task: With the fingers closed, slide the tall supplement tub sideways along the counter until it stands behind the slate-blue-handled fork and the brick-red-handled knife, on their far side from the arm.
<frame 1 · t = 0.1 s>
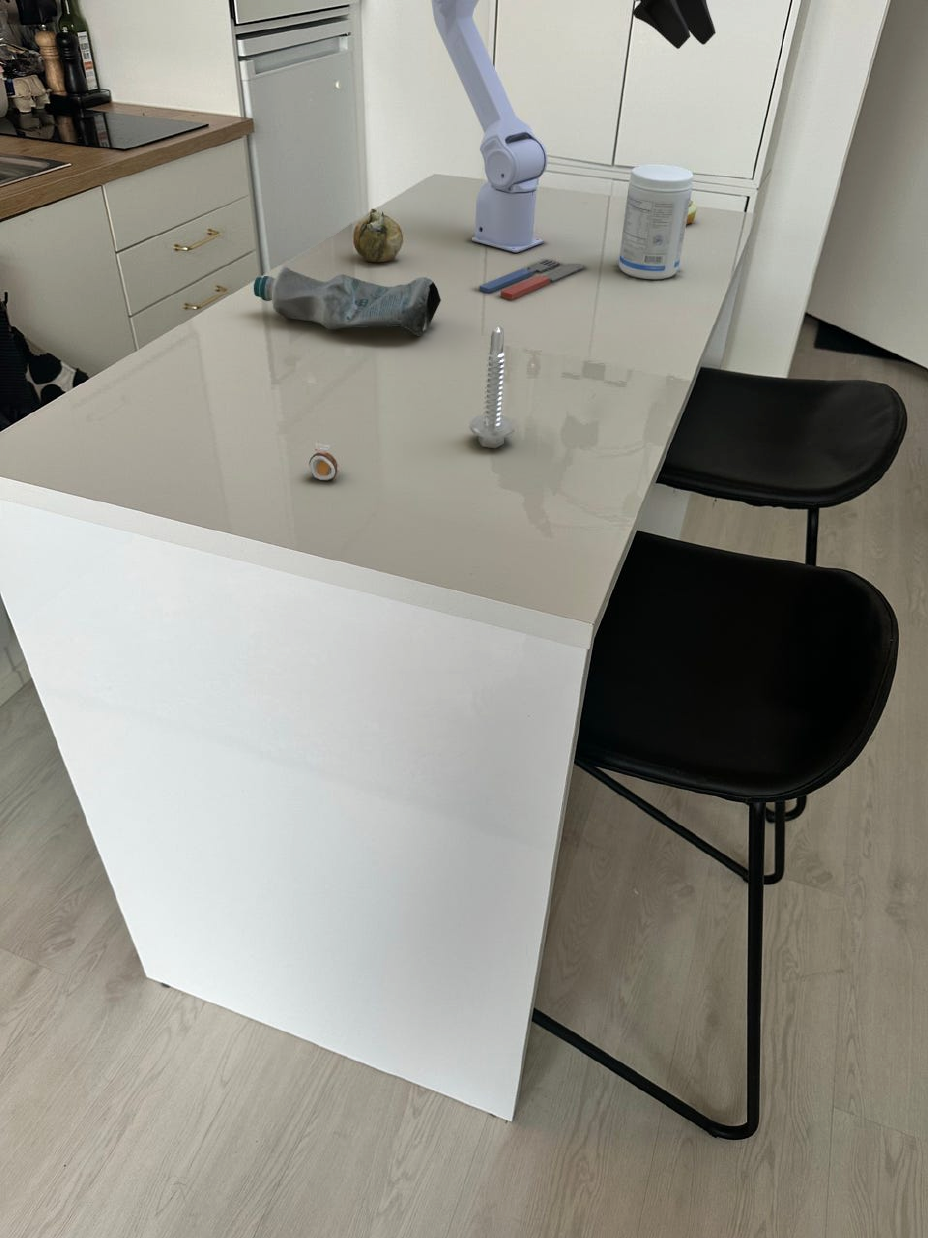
hand: (696, 40, 123), 32 cm above the countertop, tool tilted 50°, fingers open, 7 cm apart
supplement tub: (647, 272, 147), on the countertop
knife: (540, 283, 140), on the countertop
decorated donut: (664, 221, 170), on the countertop
screw: (490, 444, 100), on the countertop
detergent: (346, 325, 125), on the countertop
chocolate: (326, 478, 93), on the countertop
fork: (519, 277, 142), on the countertop
onion: (378, 260, 147), on the countertop
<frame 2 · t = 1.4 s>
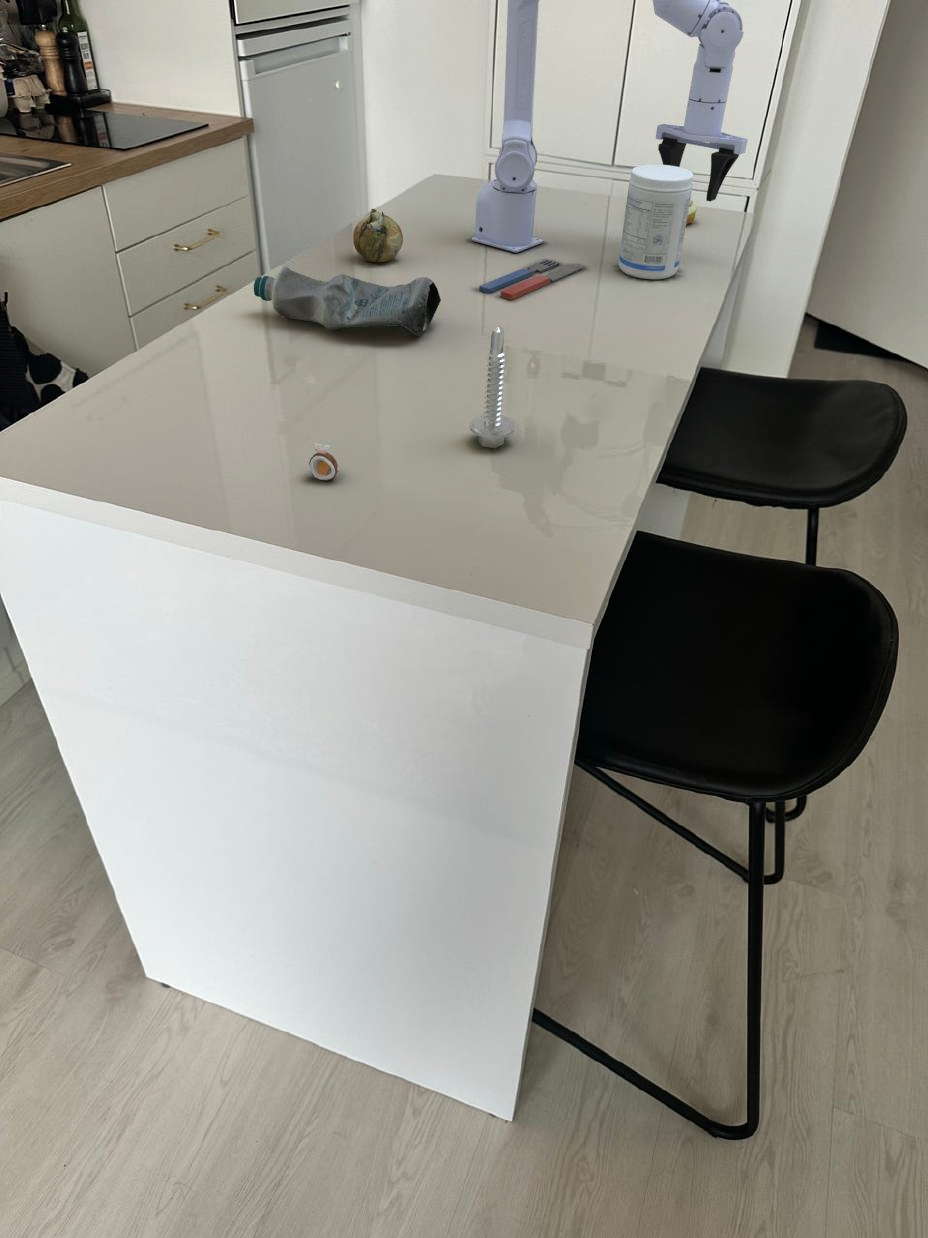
hand: (690, 195, 148), 9 cm above the countertop, tool pointing down, fingers open, 7 cm apart
nothing on the countertop moved.
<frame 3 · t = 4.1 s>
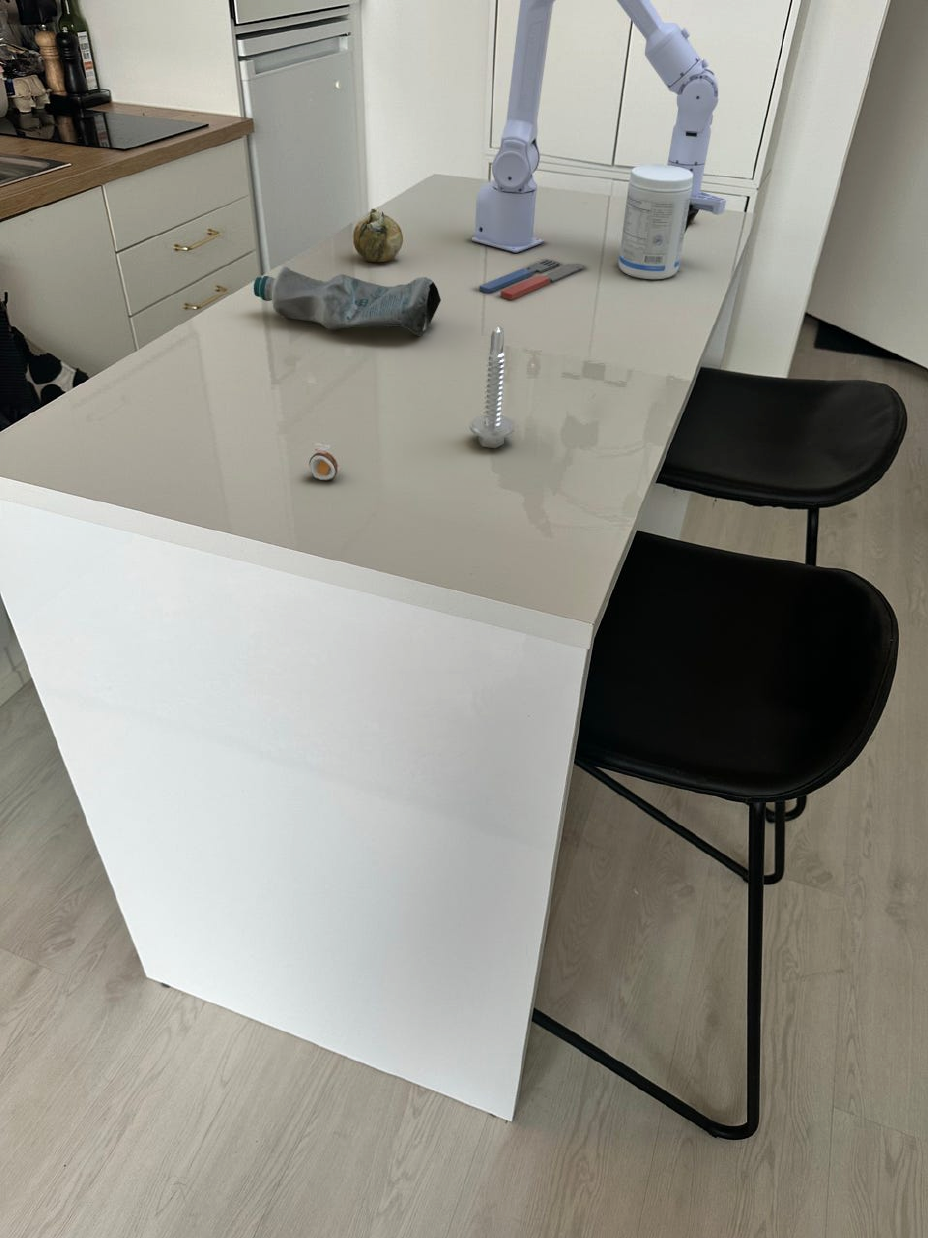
hand: (671, 251, 151), 1 cm above the countertop, tool pointing down, fingers closed, pressing on supplement tub
supplement tub: (647, 272, 147), on the countertop, touching gripper
everything else where it was.
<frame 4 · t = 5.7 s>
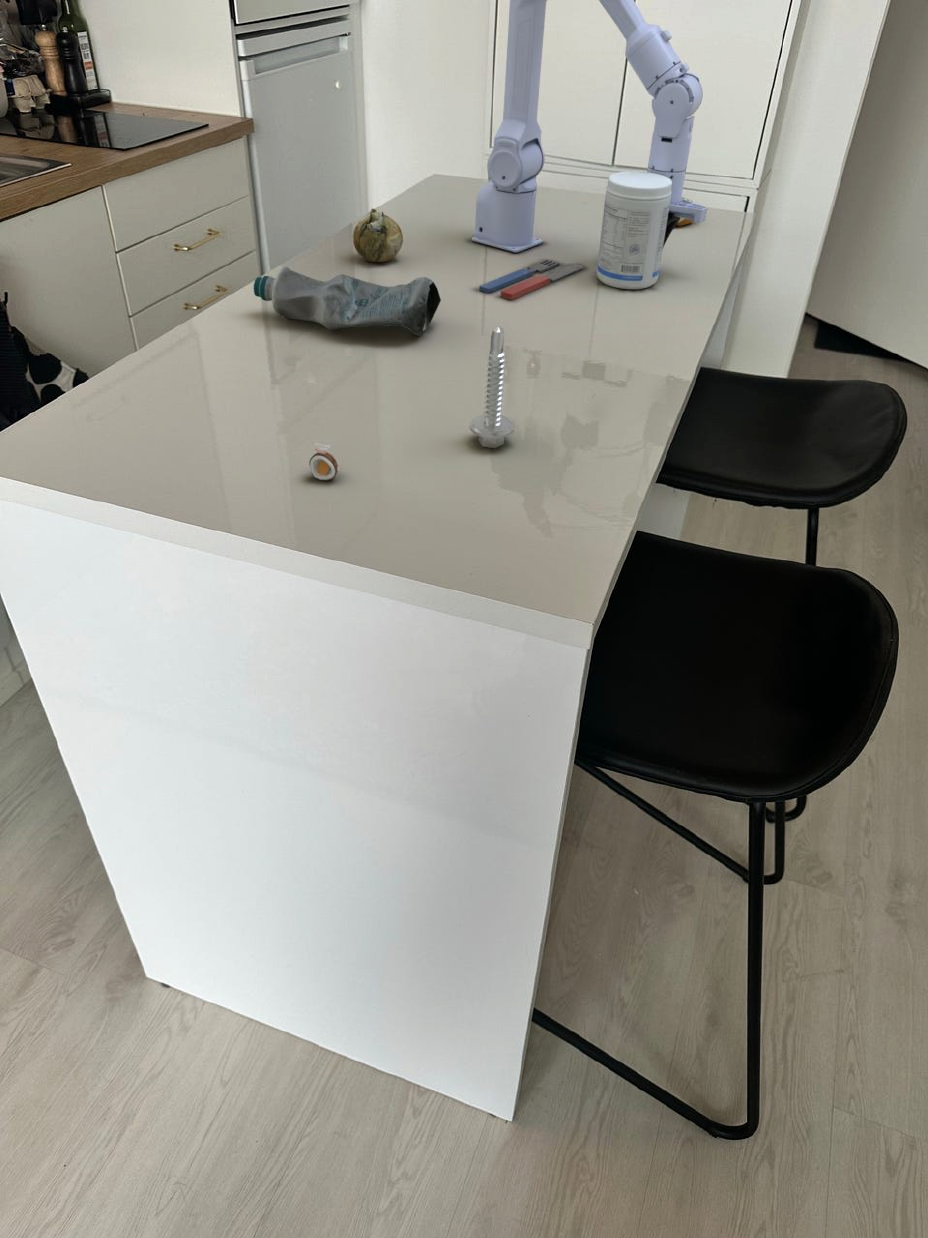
hand: (652, 260, 147), 1 cm above the countertop, tool pointing down, fingers closed
supplement tub: (625, 281, 143), on the countertop, touching gripper
everything else where it was.
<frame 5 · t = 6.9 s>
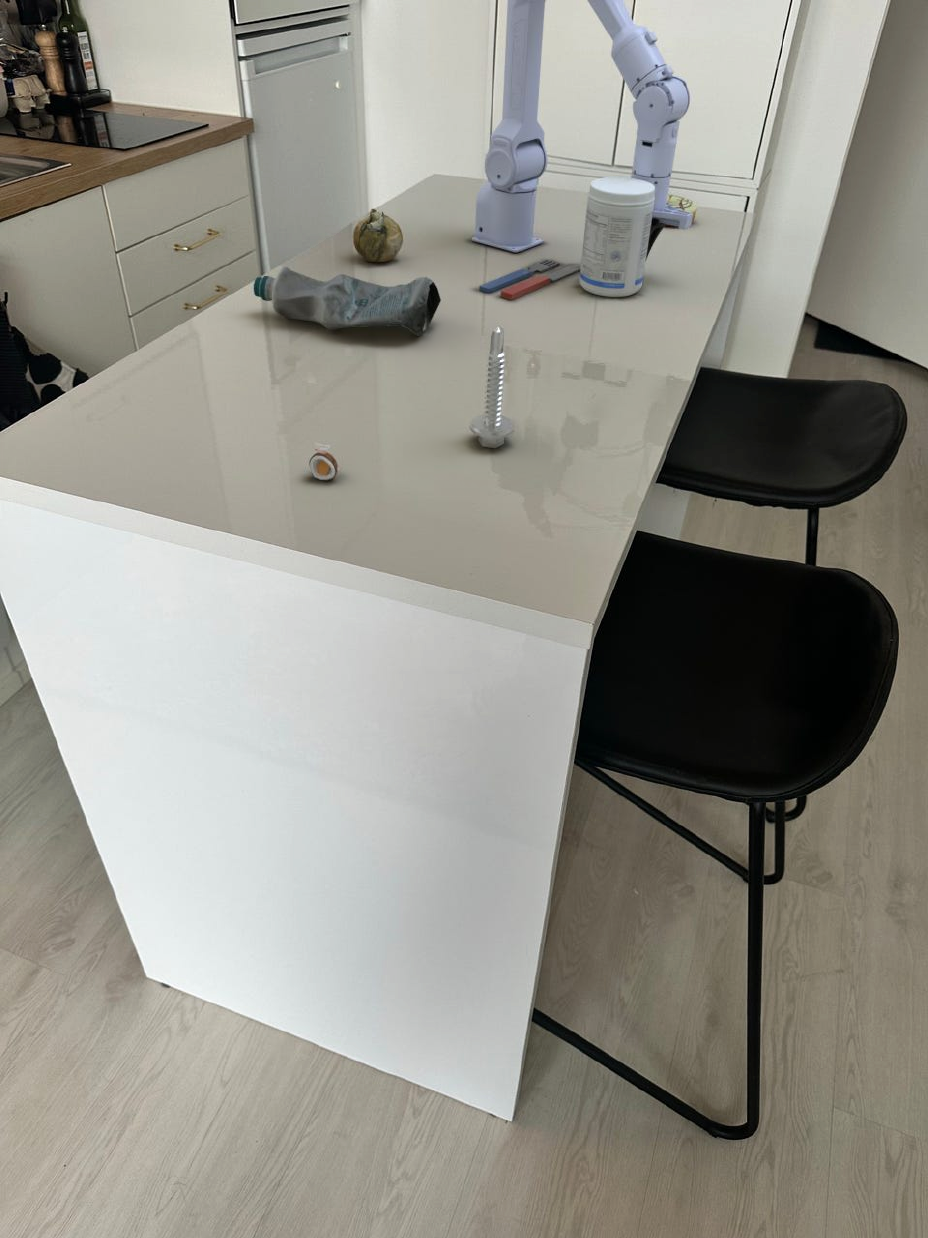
hand: (637, 267, 144), 1 cm above the countertop, tool pointing down, fingers closed
supplement tub: (609, 289, 140), on the countertop, touching gripper
everything else where it was.
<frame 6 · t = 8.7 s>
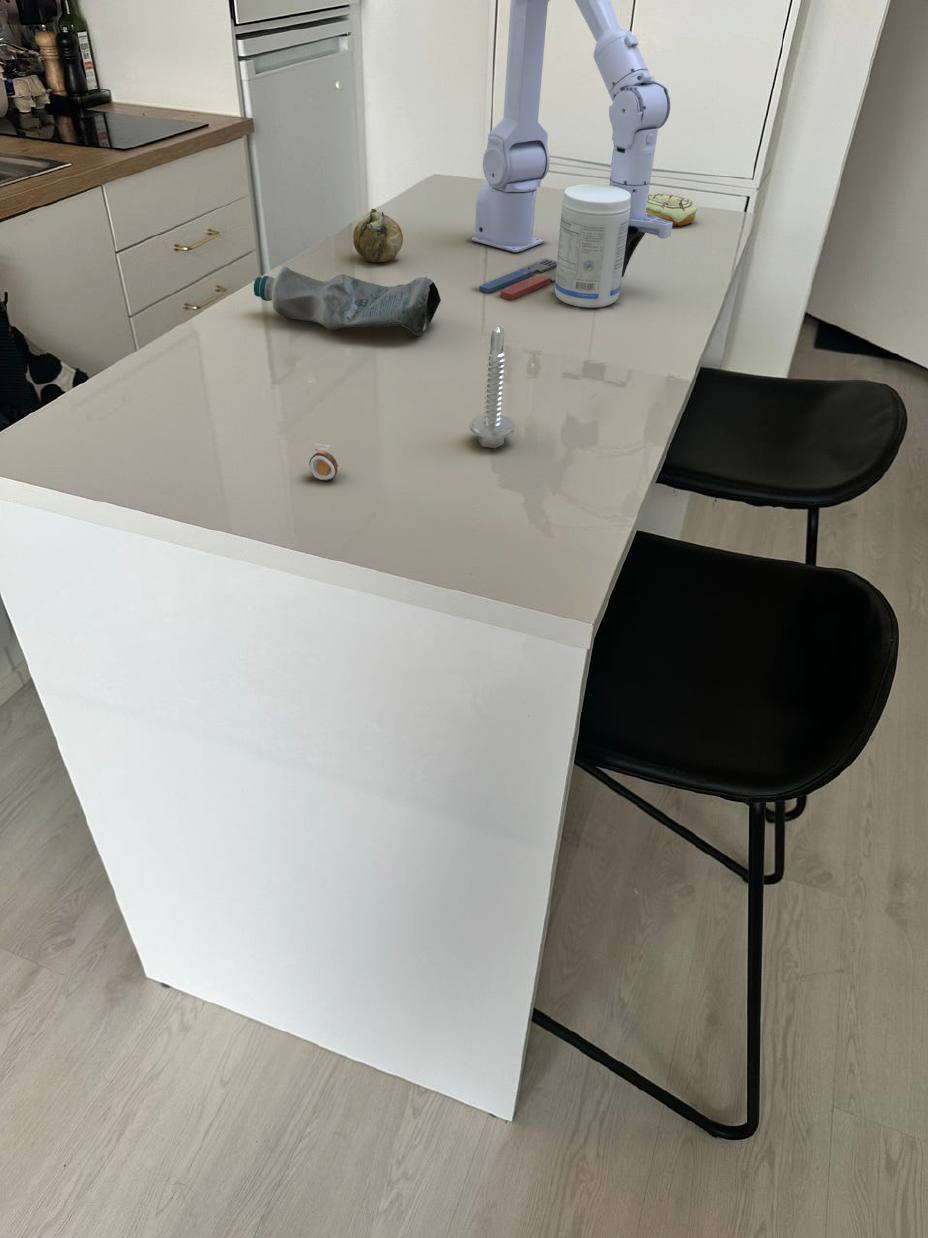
hand: (616, 277, 140), 1 cm above the countertop, tool pointing down, fingers closed
supplement tub: (585, 299, 136), on the countertop, touching gripper
everything else where it was.
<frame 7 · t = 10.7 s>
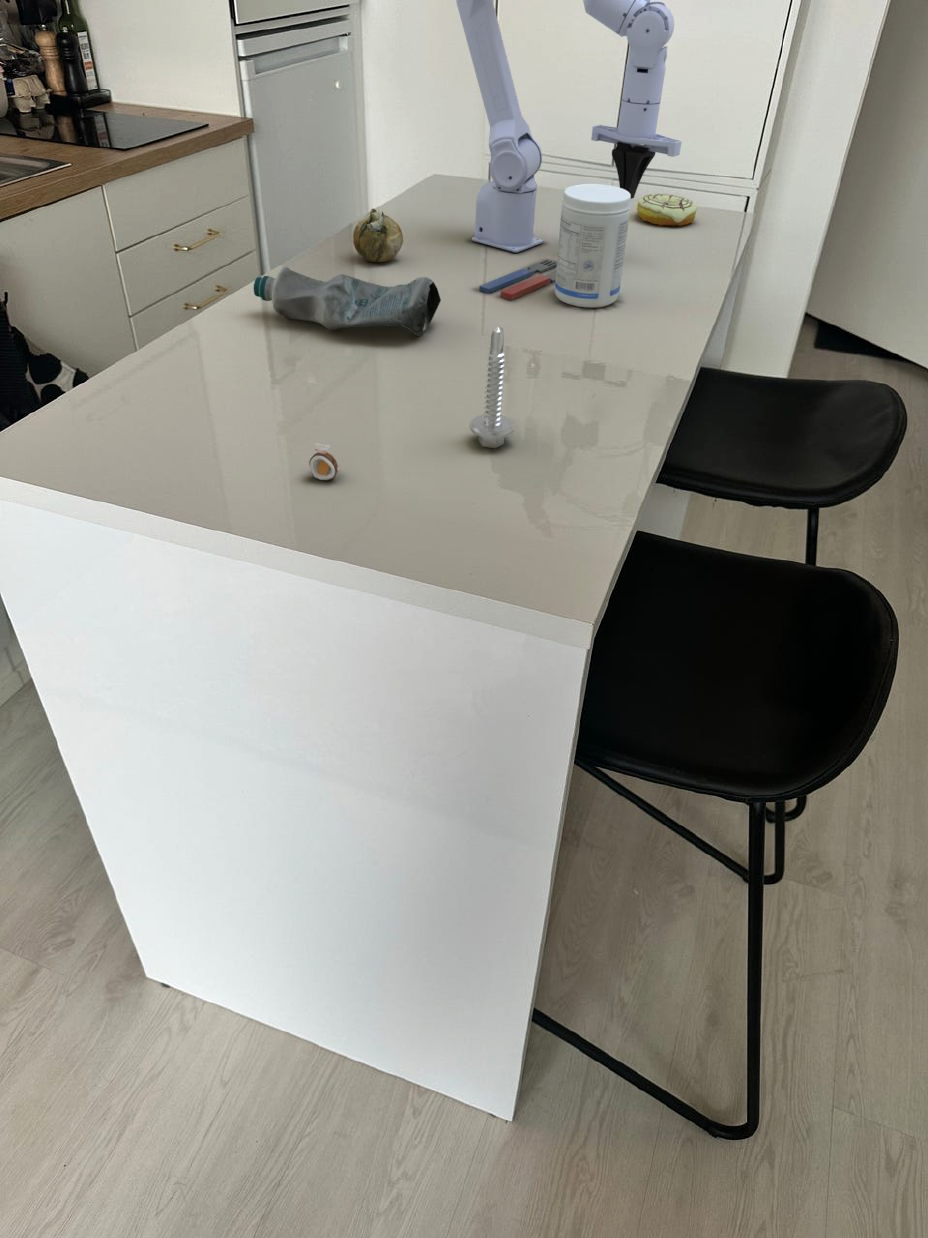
hand: (627, 197, 146), 9 cm above the countertop, tool pointing down, fingers closed
supplement tub: (585, 299, 136), on the countertop
everything else where it was.
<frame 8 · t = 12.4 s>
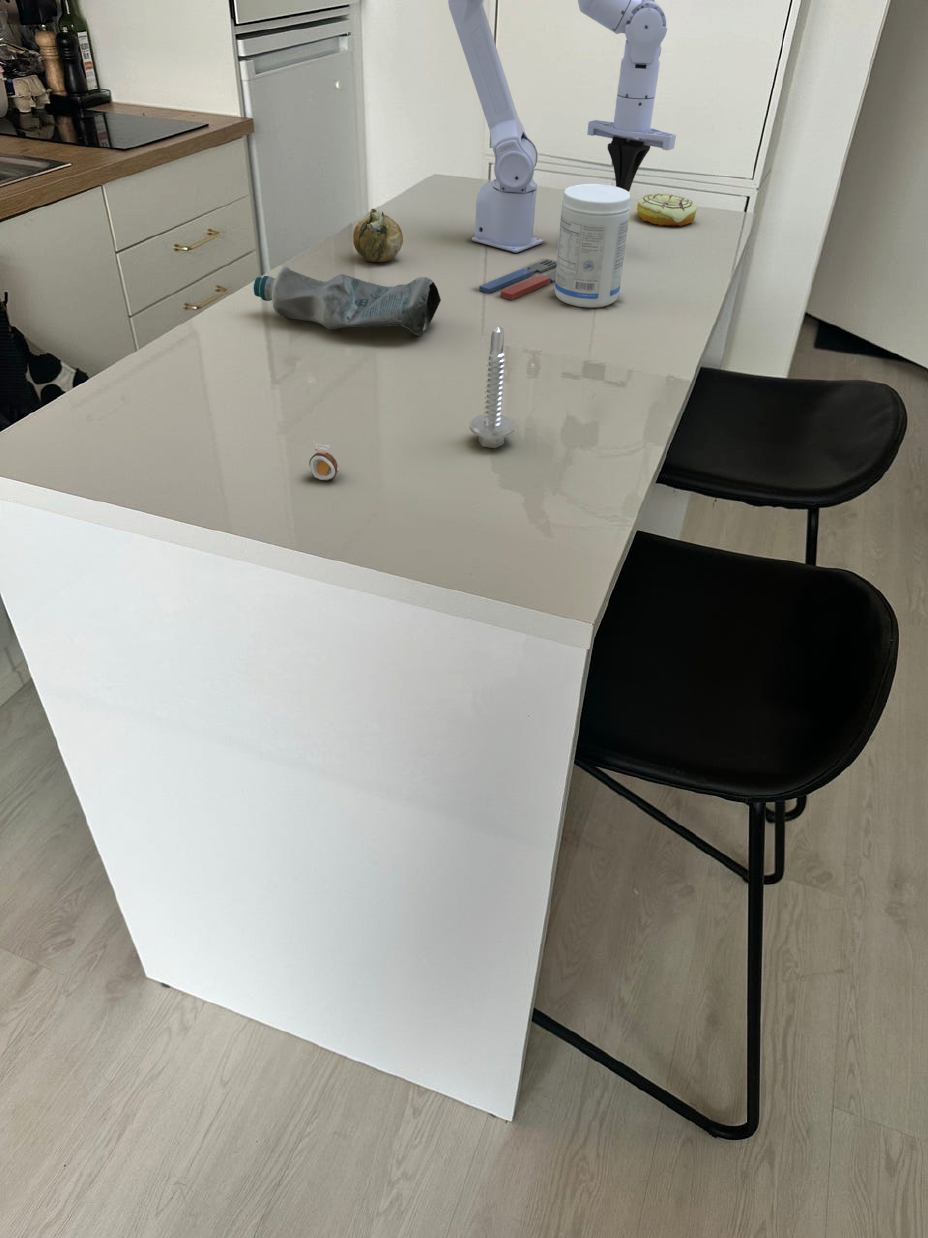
hand: (622, 191, 148), 9 cm above the countertop, tool pointing down, fingers closed
nothing on the countertop moved.
at the end: supplement tub inside the target area (1.7 cm from its centre), on the countertop; supplement tub tilted 0°; supplement tub moved 17.5 cm from its start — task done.
